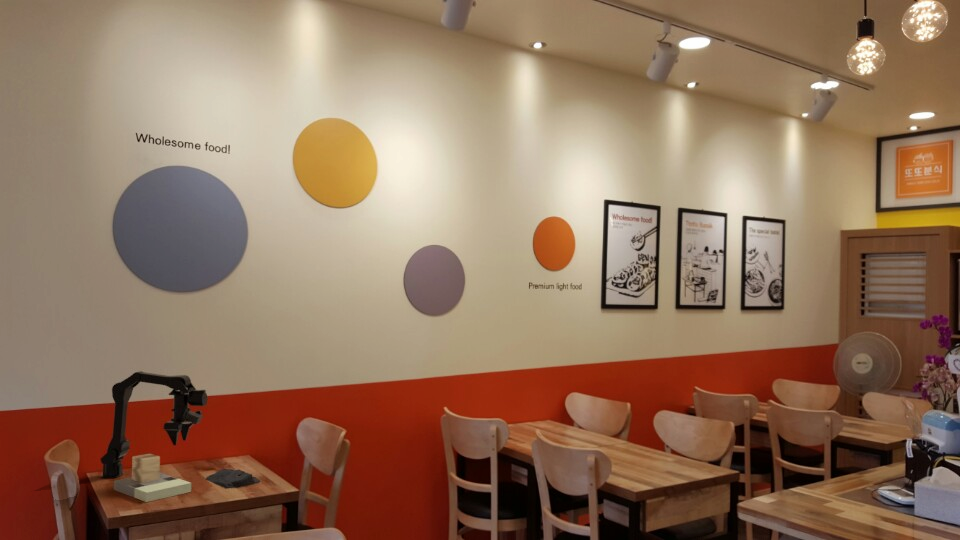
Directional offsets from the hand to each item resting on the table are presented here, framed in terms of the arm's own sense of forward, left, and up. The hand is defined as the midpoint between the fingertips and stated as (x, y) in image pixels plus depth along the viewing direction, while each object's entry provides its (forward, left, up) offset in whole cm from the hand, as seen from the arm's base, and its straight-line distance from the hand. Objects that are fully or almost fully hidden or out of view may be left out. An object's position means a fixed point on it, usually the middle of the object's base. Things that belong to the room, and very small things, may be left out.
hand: (179, 442), depth 300 cm
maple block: (-6, -16, -11) cm, 21 cm away
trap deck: (-2, -19, -15) cm, 24 cm away
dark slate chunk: (+24, -2, -15) cm, 28 cm away
